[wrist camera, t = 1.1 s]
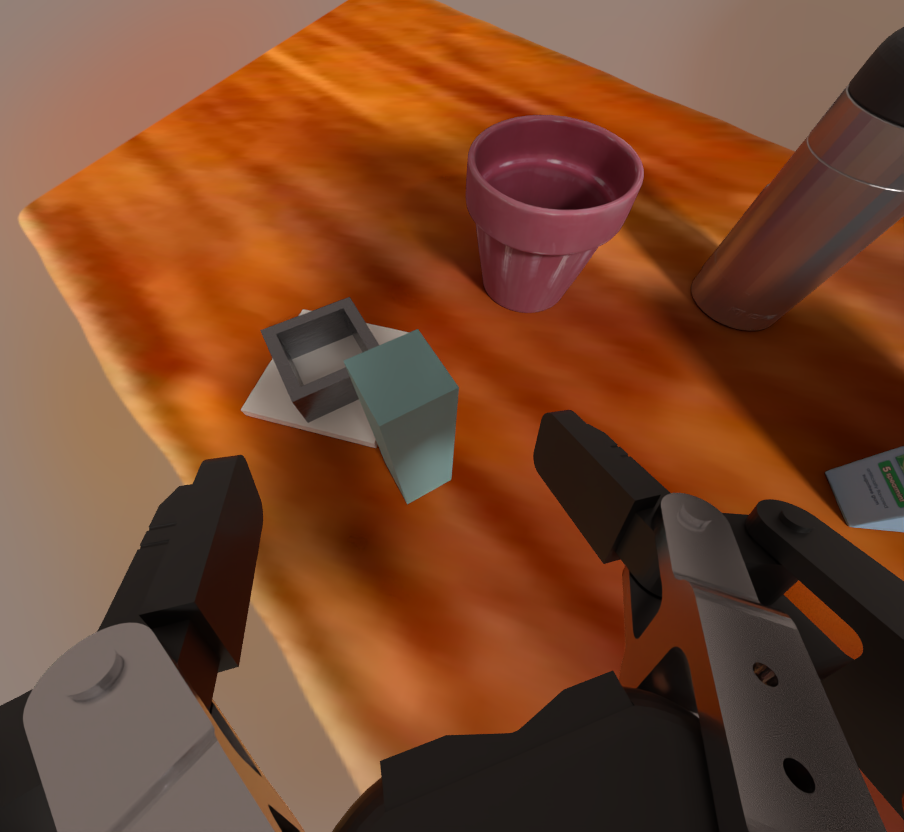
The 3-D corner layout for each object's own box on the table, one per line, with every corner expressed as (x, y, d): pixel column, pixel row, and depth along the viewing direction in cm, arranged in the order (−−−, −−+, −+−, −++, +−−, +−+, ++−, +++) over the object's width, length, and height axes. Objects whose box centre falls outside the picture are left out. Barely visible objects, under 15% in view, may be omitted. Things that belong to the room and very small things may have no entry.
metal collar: (277, 356, 32) (260, 330, 29) (357, 324, 34) (349, 297, 31) (307, 423, 29) (292, 402, 26) (393, 383, 31) (388, 359, 28)
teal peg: (385, 462, 29) (343, 360, 17) (427, 440, 30) (417, 328, 18) (407, 504, 27) (379, 426, 15) (451, 479, 28) (458, 387, 16)
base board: (306, 316, 36) (302, 309, 35) (417, 340, 35) (417, 334, 34) (246, 415, 31) (240, 409, 30) (375, 448, 29) (374, 443, 29)
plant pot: (536, 356, 35) (582, 237, 23) (433, 285, 39) (430, 155, 27) (610, 282, 40) (677, 156, 28) (513, 227, 44) (538, 97, 32)
